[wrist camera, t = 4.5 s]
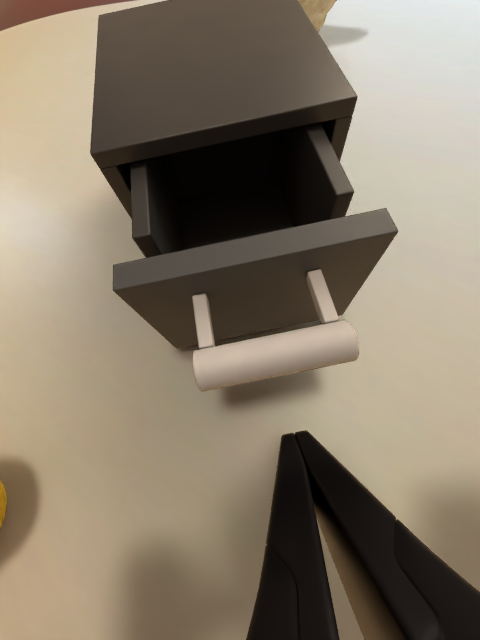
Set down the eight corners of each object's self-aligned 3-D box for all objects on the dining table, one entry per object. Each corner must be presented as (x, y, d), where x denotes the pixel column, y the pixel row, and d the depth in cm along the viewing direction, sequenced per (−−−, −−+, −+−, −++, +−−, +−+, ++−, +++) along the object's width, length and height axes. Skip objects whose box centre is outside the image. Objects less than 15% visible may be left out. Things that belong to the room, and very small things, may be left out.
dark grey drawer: (365, 376, 15) (452, 330, 8) (182, 413, 16) (111, 399, 8) (292, 179, 22) (305, 57, 15) (163, 206, 22) (113, 98, 15)
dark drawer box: (318, 240, 20) (358, 96, 12) (165, 272, 21) (89, 153, 12) (276, 130, 26) (282, -26, 17) (155, 156, 26) (98, 14, 17)
